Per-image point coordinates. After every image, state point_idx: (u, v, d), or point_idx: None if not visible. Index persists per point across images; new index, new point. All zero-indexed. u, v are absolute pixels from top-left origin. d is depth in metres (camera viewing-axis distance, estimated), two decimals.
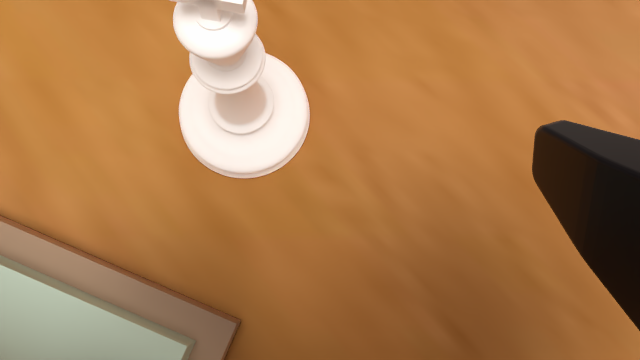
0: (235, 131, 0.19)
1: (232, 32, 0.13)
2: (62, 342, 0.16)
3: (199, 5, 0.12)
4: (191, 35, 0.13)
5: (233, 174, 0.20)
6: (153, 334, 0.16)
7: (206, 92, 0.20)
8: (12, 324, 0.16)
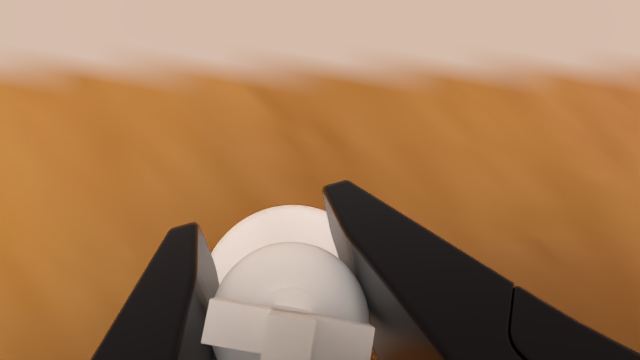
0: None
1: None
2: None
3: None
4: None
5: None
6: None
7: None
8: None
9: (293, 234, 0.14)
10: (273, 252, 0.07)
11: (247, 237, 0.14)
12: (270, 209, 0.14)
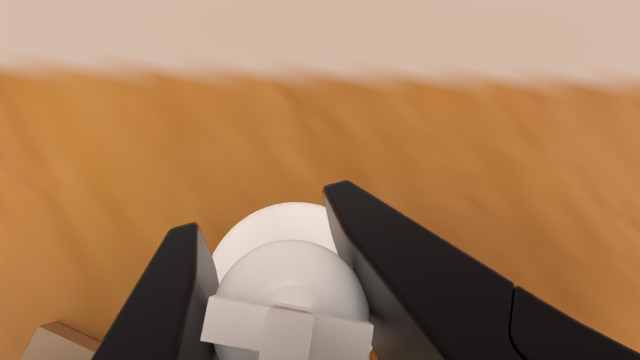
0: None
1: None
2: None
3: None
4: None
5: None
6: None
7: None
8: None
9: (296, 231, 0.14)
10: (273, 250, 0.07)
11: (251, 235, 0.14)
12: (274, 206, 0.14)
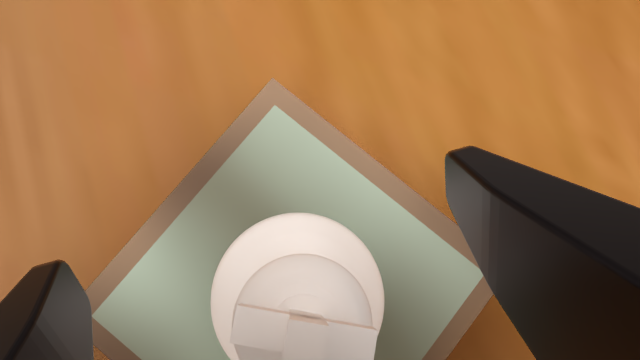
0: None
1: None
2: (365, 233, 0.16)
3: None
4: None
5: None
6: (454, 252, 0.16)
7: None
8: (321, 202, 0.16)
9: (299, 240, 0.15)
10: (288, 263, 0.08)
11: (257, 243, 0.15)
12: (278, 217, 0.15)
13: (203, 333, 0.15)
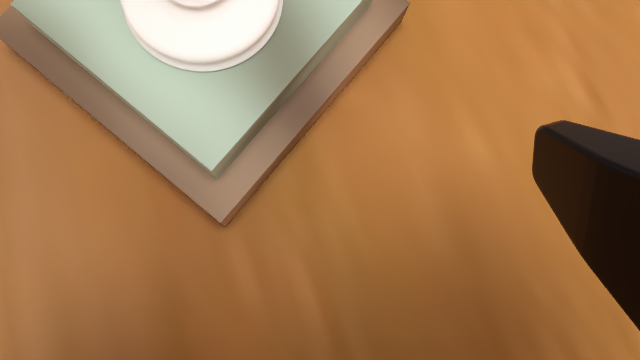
0: (187, 3, 0.15)
1: None
2: None
3: None
4: None
5: (187, 65, 0.16)
6: None
7: None
8: None
9: None
10: None
11: None
12: None
13: (114, 23, 0.17)
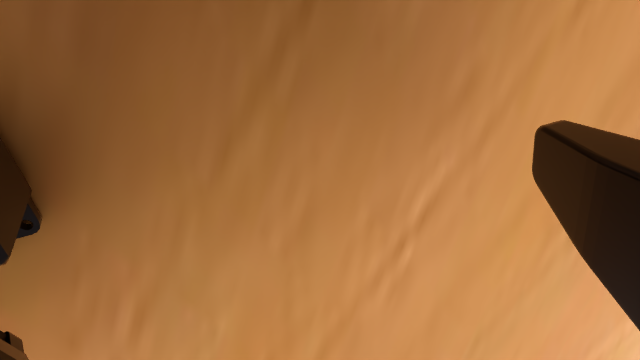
0: None
1: None
2: None
3: None
4: None
5: None
6: None
7: None
8: None
9: None
10: None
11: None
12: None
13: None
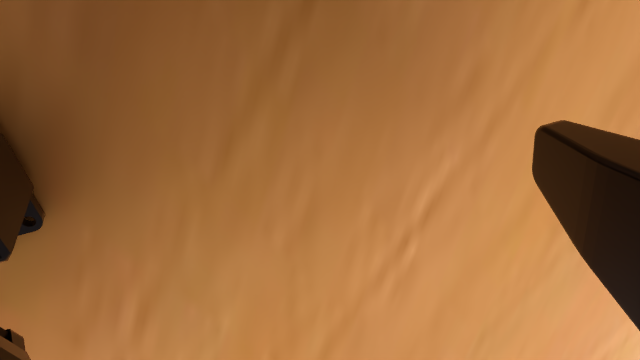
0: None
1: None
2: None
3: None
4: None
5: None
6: None
7: None
8: None
9: None
10: None
11: None
12: None
13: None
